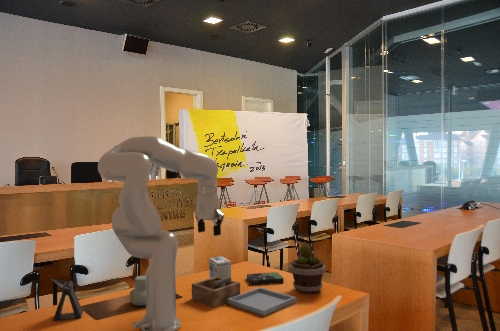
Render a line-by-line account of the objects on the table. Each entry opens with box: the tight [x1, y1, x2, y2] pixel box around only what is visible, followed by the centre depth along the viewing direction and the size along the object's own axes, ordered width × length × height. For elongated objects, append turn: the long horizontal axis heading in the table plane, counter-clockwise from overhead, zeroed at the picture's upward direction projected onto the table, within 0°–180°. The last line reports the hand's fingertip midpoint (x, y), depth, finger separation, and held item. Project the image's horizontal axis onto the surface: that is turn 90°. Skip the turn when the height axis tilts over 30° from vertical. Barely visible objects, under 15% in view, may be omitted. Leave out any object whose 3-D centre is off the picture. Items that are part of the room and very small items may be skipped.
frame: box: [191, 276, 241, 308], centre depth 159 cm, size 13×13×6 cm
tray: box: [226, 287, 297, 317], centre depth 153 cm, size 18×18×2 cm
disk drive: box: [246, 271, 284, 286], centre depth 181 cm, size 10×3×15 cm
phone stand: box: [52, 280, 84, 322], centre depth 142 cm, size 9×6×12 cm, turn 106°
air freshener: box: [129, 274, 146, 307], centre depth 155 cm, size 11×8×10 cm
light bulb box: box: [208, 255, 232, 279], centre depth 178 cm, size 11×7×11 cm, turn 25°
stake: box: [214, 277, 232, 287], centre depth 156 cm, size 8×2×8 cm, turn 136°
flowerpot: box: [289, 240, 327, 295], centre depth 168 cm, size 14×15×20 cm
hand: (209, 233), depth 160 cm, fingers open, 9 cm apart
